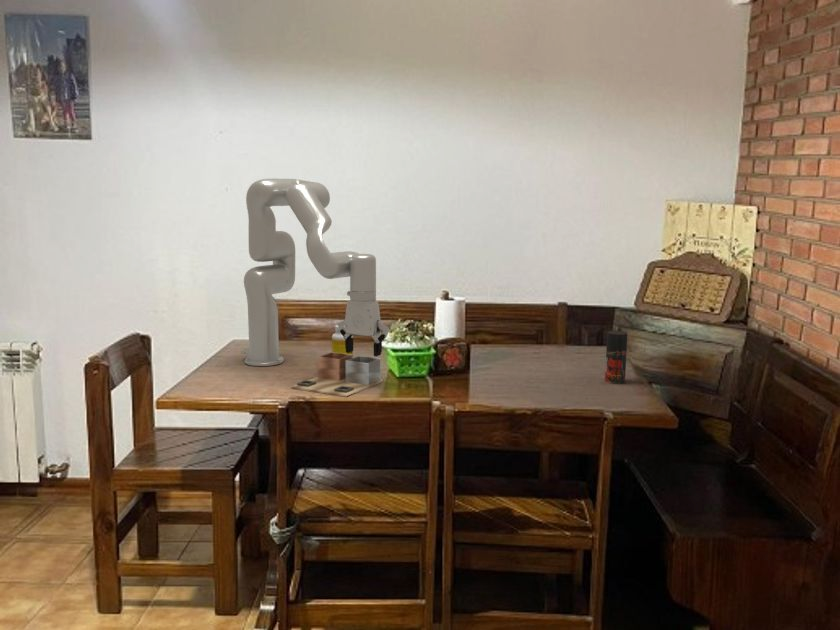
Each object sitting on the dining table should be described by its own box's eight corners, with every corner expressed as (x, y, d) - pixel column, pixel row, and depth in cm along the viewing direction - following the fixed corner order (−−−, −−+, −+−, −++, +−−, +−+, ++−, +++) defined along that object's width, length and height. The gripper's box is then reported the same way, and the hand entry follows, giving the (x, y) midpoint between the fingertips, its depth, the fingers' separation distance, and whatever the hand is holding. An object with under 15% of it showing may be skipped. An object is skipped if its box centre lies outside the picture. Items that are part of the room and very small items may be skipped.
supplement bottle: (349, 367, 260) (349, 328, 258) (329, 366, 262) (329, 327, 259) (355, 362, 267) (355, 324, 265) (335, 361, 268) (335, 323, 266)
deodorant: (600, 379, 247) (603, 331, 245) (617, 378, 250) (619, 330, 247) (612, 384, 242) (614, 335, 239) (629, 382, 244) (631, 333, 242)
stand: (291, 388, 235) (290, 364, 234) (330, 373, 252) (330, 351, 251) (346, 397, 226) (346, 372, 225) (383, 381, 243) (383, 358, 242)
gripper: (331, 295, 238) (331, 352, 241) (382, 300, 230) (382, 359, 233) (345, 292, 245) (345, 348, 248) (395, 297, 237) (395, 354, 240)
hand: (363, 353), depth 240 cm, fingers open, 9 cm apart
